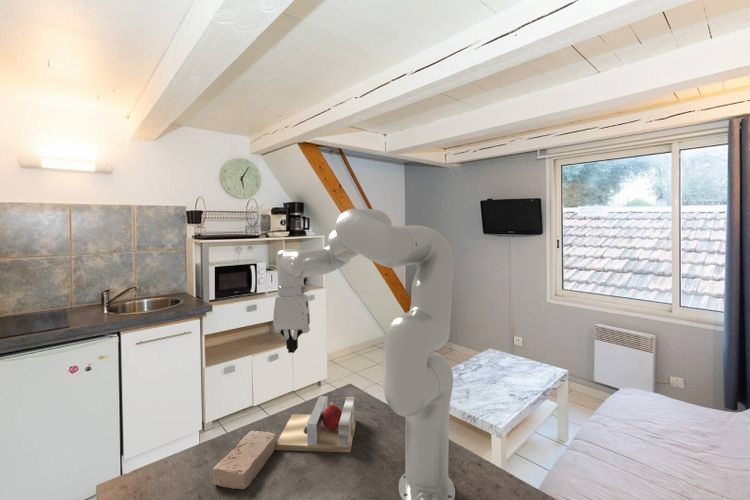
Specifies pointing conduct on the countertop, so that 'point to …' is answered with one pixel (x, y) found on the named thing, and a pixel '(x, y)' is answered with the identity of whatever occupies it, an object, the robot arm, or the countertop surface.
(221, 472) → the brick
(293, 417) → the vise base
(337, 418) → the onion
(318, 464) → the countertop surface
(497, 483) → the countertop surface
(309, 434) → the vise jaw
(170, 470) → the countertop surface
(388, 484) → the countertop surface
